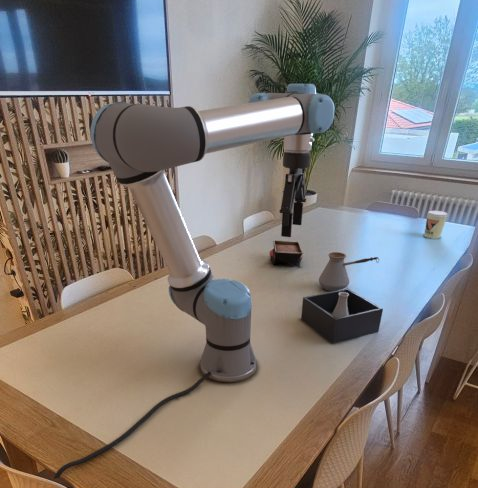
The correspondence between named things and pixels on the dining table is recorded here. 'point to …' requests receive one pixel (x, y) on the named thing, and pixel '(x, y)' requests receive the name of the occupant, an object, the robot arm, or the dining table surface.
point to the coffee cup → (435, 224)
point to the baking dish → (286, 252)
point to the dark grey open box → (339, 329)
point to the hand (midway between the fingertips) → (291, 230)
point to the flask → (341, 306)
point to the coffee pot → (337, 272)
